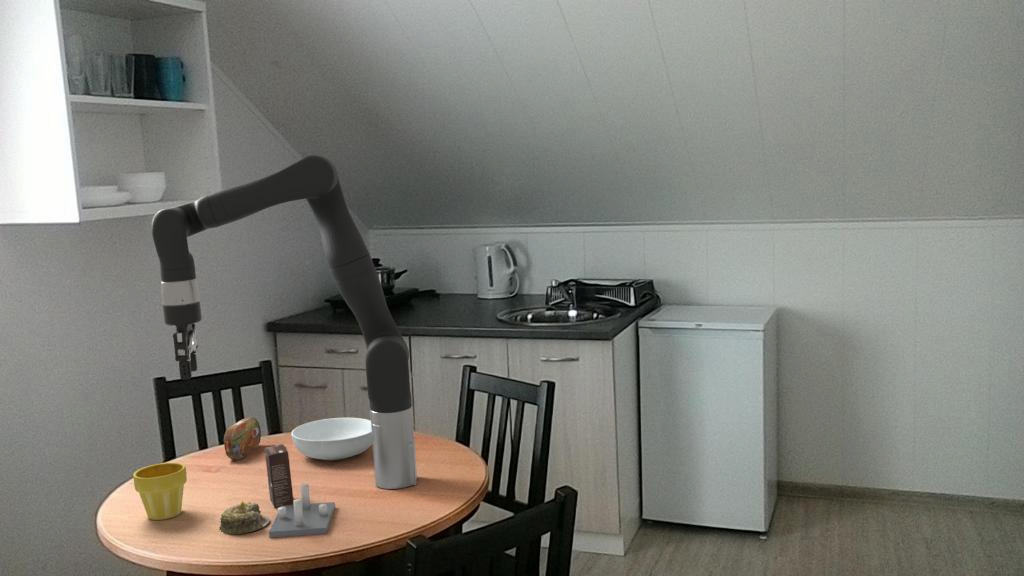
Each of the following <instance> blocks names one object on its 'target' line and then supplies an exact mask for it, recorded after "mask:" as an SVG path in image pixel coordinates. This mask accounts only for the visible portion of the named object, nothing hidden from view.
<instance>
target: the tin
mask: <svg viewBox="0 0 1024 576" xmlns="http://www.w3.org/2000/svg"><path fill="white" fill-rule="evenodd" d="M259 422H260V421H258V419H257V418H255V417H253V416H252V417H248V418H247V417H245V418H243V419H242V418H241V420H239V421H237V422H236V423H234V424H233V425H231V426H229V427H228V428H227V429H226V430H225V432H224V435H223V445H224V451H225V455H226V456H227V458H229V459H231V460H243V459H244V458H245V457H247V456H248V455H250V454H251V453H252V452H255V451H256V450H257V449H258V447H259V445H260V443H261V438H262V437H261V436H262V434H261V433H262V431H261V426H260V423H259ZM242 458H243V459H242Z"/></svg>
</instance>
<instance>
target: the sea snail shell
mask: <svg viewBox="0 0 1024 576" xmlns="http://www.w3.org/2000/svg"><path fill="white" fill-rule="evenodd" d="M219 520H220V524H219V525H220V526H219V529H218V530H219V531H220V530H221V531H220V533H222V532H223V534H224V535H227V536H228V535H229V536H230V535H231V536H232V535H241V534H248V533H253V532H256V531H257V530H261V529H262V528H264V527H266V526H267V525H268V524H269V523H270V522H271V519H270V517H268V516H263V515H262V514H261V510H260V505H259V503H257V502H252V501H250V502H249V501H248V502H244V501H241V502H240V503H239V504H236V505H232V506H230V507H228V508H226V509H225V510H224V511H223V512H222V513H221V517H220V518H219ZM261 522H262V523H261Z"/></svg>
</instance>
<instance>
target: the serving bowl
mask: <svg viewBox="0 0 1024 576" xmlns="http://www.w3.org/2000/svg"><path fill="white" fill-rule="evenodd" d="M290 434H291V438H292V439H291V440H292V442H293V444H294V447H295V448H296V449H297V451H298V452H300V453H301V454H303V455H304V456H306V457H308V458H312V459H316V460H323V461H339V460H340V459H341V460H345V459H348V457H349V458H351V457H354V456H357V455H359V454H362V453H364V452H366V451H367V450H368V449H369V448H370V447H371V446H373V445H372V430H371V419H367V418H360V417H334V418H333V417H331V418H324V419H318V420H313V421H310V422H306V423H303V424H301V425H298V426H297V427H295V428H294V429H292V431H291V433H290Z"/></svg>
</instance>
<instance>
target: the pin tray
mask: <svg viewBox="0 0 1024 576" xmlns="http://www.w3.org/2000/svg"><path fill="white" fill-rule="evenodd" d="M309 484H310V483H301V484H300V493H301V494H300V495H301V496H300V497H301V499H300V498H297V499H293V503H294V505H284V506H281V507H279V508H277V514H276V516H275V518H274V520H273V523H272V525H271V527H270V529H269V531H268V538H283V537H284V538H285V537H299V536H300V537H301V536H311V535H313V536H314V535H325V534H327V533H328V530H329V527H330V524H331V521H332V519H333V515H334V512H335V509H336V503H335V501H329V502H316V503H315V502H314V503H311V499H310V498H311V497H310V487H309V486H310V485H309Z"/></svg>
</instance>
